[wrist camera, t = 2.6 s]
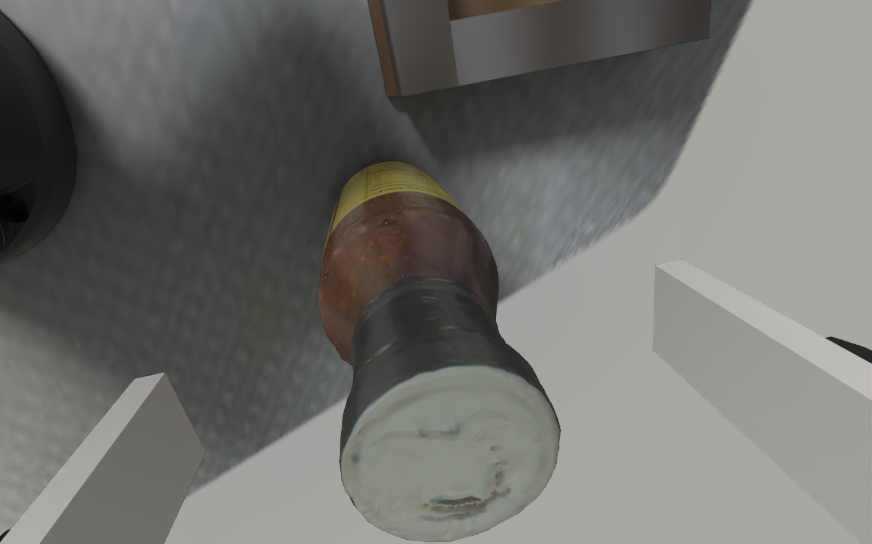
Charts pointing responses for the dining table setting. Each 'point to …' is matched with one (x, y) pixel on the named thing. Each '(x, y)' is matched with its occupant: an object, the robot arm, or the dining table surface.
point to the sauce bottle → (428, 364)
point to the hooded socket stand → (518, 36)
